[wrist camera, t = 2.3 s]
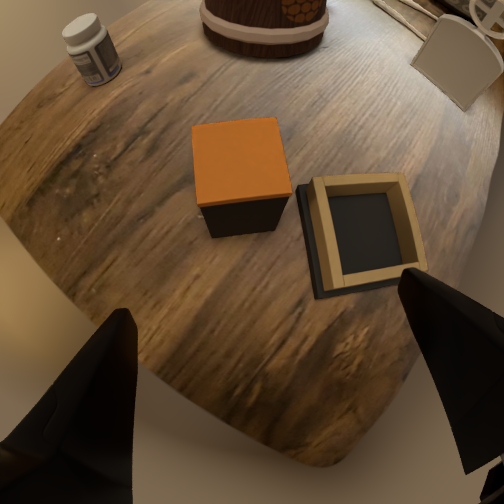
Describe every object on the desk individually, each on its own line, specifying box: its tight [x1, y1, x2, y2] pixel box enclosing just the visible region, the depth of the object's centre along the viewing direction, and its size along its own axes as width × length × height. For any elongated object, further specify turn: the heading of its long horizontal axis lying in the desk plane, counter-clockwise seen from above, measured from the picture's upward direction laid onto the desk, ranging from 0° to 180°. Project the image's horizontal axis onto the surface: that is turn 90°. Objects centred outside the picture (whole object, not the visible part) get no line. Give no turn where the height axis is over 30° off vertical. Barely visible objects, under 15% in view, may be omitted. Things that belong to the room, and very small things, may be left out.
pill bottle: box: [62, 13, 121, 86], centre depth 22 cm, size 5×5×8 cm
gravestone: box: [410, 0, 504, 112], centre depth 19 cm, size 3×9×18 cm, turn 47°
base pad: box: [296, 173, 428, 299], centre depth 22 cm, size 9×9×4 cm
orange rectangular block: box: [192, 117, 292, 238], centre depth 20 cm, size 5×5×8 cm
